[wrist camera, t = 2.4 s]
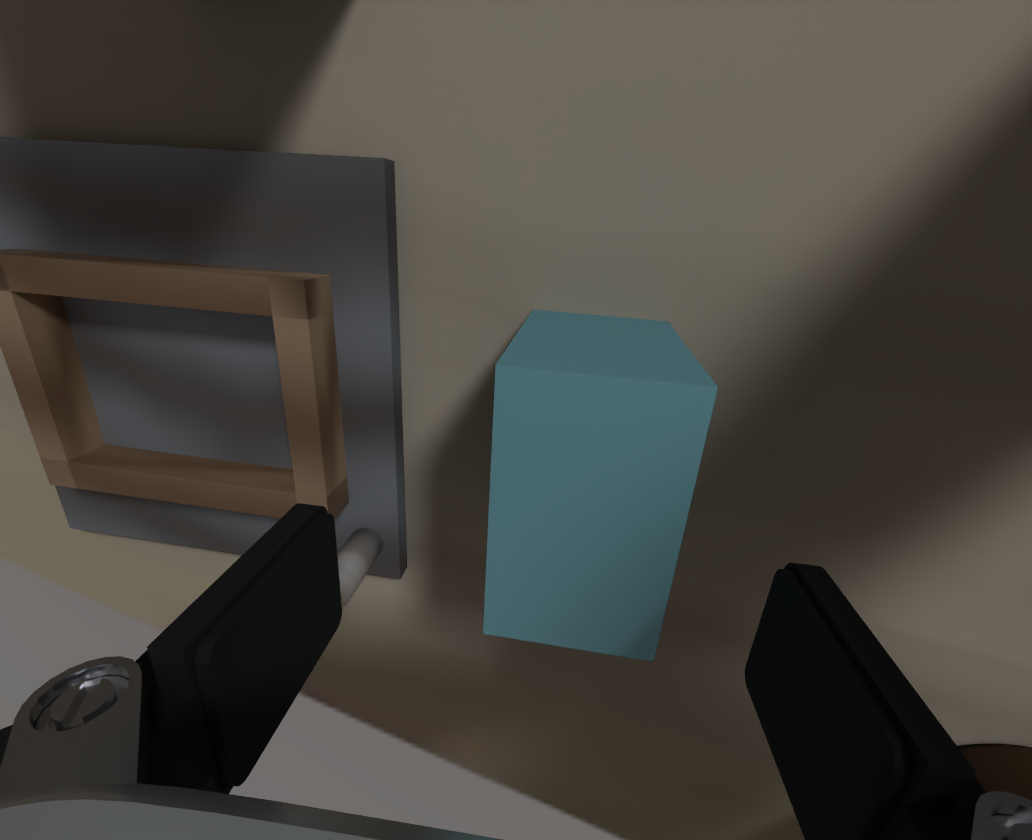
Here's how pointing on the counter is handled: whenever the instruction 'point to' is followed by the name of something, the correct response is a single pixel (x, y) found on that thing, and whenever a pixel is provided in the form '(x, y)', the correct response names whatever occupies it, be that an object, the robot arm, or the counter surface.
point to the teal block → (591, 480)
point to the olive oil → (1002, 768)
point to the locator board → (208, 341)
